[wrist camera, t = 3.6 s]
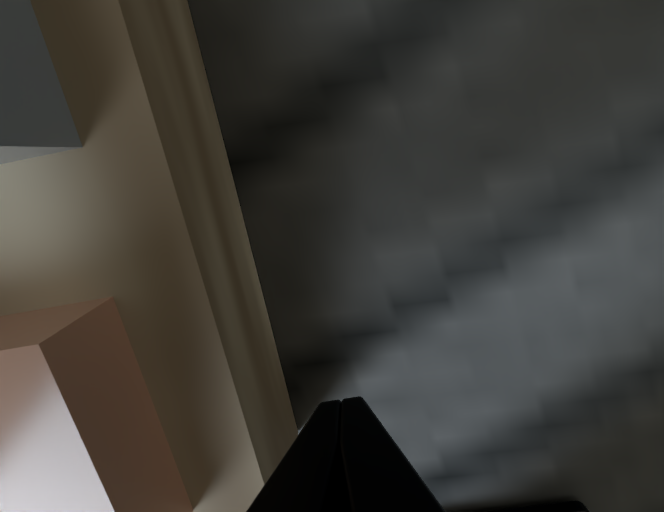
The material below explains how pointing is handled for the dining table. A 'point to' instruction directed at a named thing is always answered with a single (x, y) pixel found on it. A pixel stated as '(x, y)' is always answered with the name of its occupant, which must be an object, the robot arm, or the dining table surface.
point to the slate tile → (30, 90)
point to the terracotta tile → (79, 417)
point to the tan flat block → (152, 239)
